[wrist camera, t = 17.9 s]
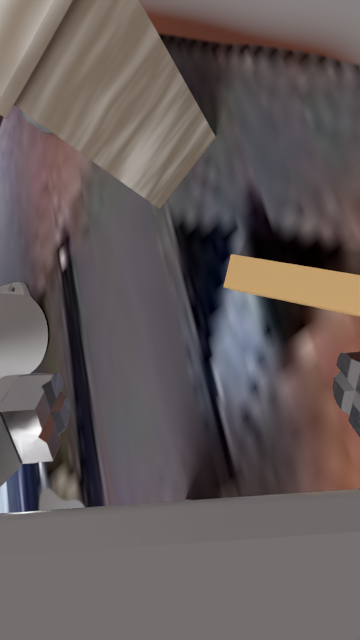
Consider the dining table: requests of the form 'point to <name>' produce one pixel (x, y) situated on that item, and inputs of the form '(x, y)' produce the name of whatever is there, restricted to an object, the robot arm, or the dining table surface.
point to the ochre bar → (295, 284)
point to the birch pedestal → (103, 88)
